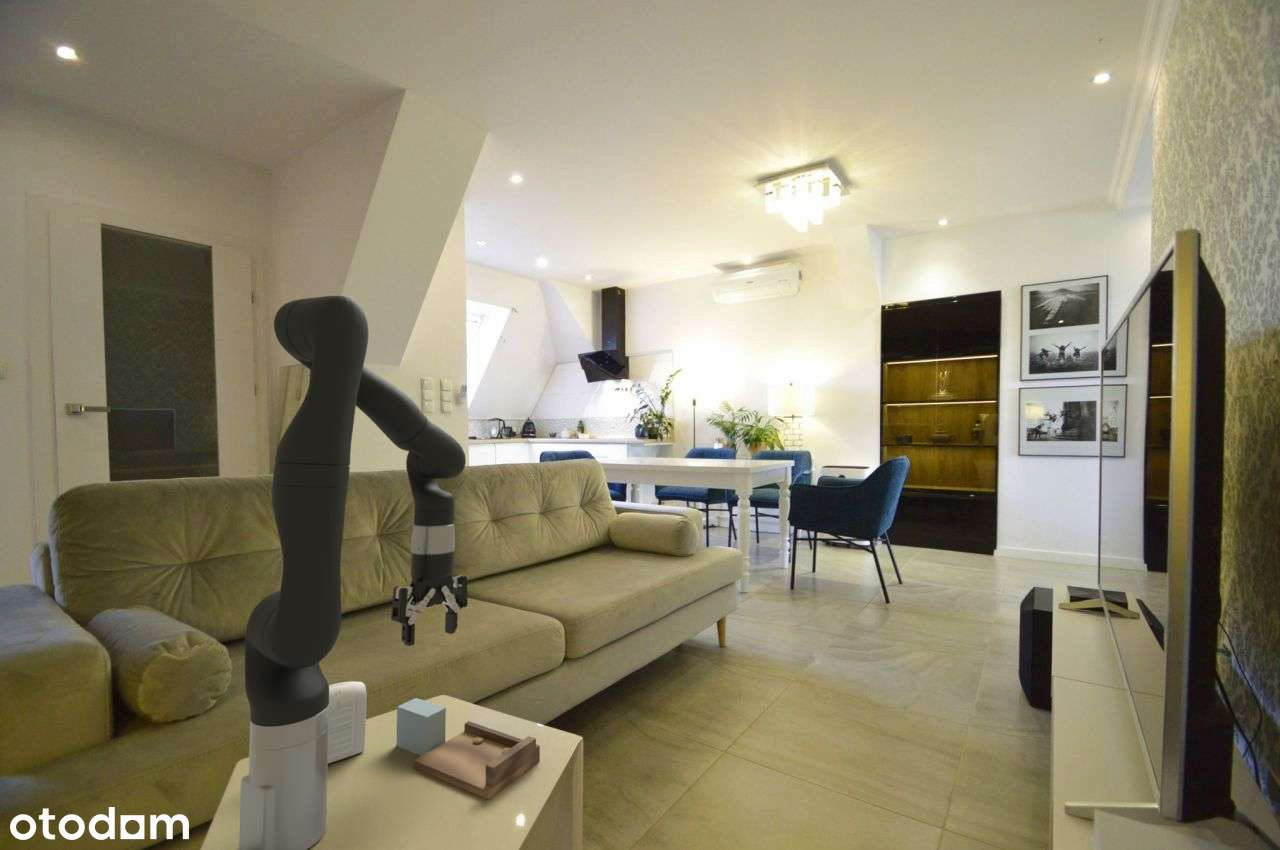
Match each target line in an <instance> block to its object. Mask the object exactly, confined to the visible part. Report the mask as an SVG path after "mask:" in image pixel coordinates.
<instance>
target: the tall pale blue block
mask: <svg viewBox="0 0 1280 850" xmlns="http://www.w3.org/2000/svg"><path fill="white" fill-rule="evenodd" d="M446 710H447V708H446V707H445V706H441V705H438V704H435V703H432V702H430V701H427V700H423V699H421V698H417V697H415V698H413V699H411V700H408V701H406V702H404V703H402V704H400V705H398V706H396V746H395V747H399V748H400V749H403V750H406V751H408V752H411V753H413V754H415V755H418V756H419V757H420V756H422V755H424V754H426V753H427V752H429V751H431V750H432V749H434V748H436V747H438V746H439V745H441V744H443V743H445V742H446V726H447V725H446V723H447V721H446V719H447V718H446V717H447V715H446V714H447V713H446V712H447V711H446Z"/></svg>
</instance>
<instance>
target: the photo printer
mask: <svg viewBox="0 0 1280 850" xmlns="http://www.w3.org/2000/svg"><path fill="white" fill-rule="evenodd" d="M367 697H368V696H367V689H366V684H365V683H364V682H363V681H343V682H338V683H334V684H331V685H330V684H329V724H328V764H332V763H334V762H337V761H340V760H343V759H347V758H350V757H352V756H354V755H357V754H360V753H363V752H364V751H365V747H366V724H367V723H366V722H367V720H366V719H367ZM328 764H327V765H328Z"/></svg>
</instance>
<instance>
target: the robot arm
mask: <svg viewBox="0 0 1280 850" xmlns="http://www.w3.org/2000/svg"><path fill="white" fill-rule="evenodd" d="M273 328H274V329H273V330H274V335H275V337H276V339H277V340H278V343H279V344H280V346H281V347H282V348H283V350H285V352H286V353H288V354H289V355H290V356H291V357H292V358H293V359H295V360H296V361H298V362H299V363H301V364H302V365H303V366H304V367H306V368H307V369H308V370H310V378H309V384H308V387H307V391H306V394H305V397H304V399H303V401H302V403H301V404H300V406H299V408H298V410H297V412H296V413H295V414H294V417H293V418H292V420H291V421H290V422H289V424H288V426H287V428H286V430H285V432H284V433H283V435H282V437H281V439H280V441H279V443H278V446H277V448H276V452H275V458H274V459H275V460H274V462H275V463H274V468H273V478H272V486H271V503H272V504H271V505H272V510H273V511H272V512H273V515H274V520H275V526H276V530H277V534H278V538H279V544H280V546H281V555H282V574H281V575H282V576H281V581H280V582H281V583H280V589H279V590H278V591H275V592H272V593H271V594H269V595H267V596H266V597H264V598H263V599H261V601H259V603H258V604H256V605H255V607H254V609H253V610H252V611H251V613H250V615H249V618H248V620H247V623H246V627H245V628H246V629H245V635H244V636H245V637H244V684H245V685H244V686H245V694H246V698H247V701H248V704H249V710H250V712H249V713H250V721H249V747H248V750H249V751H248V752H249V753H248V754H249V755H248V774H247V775H245V776H243V777H242V779H241V780H240V807H239V808H240V809H239V814H240V815H239V835H238V837H239V838H238V840H239V841H238V843H239V844H238V848H239V849H238V850H308V849H309V848H310V849H311V848H312V847H313V846H314V845H315V844H316V843H317V842H318V841H319V840H321V839H322V838H323V835H324V834H325V831H326V829H327V813H328V811H327V805H328V804H327V799H328V798H327V797H328V794H327V793H328V792H327V791H328V724H329V686H330V684H329V682H328V680H327V678H326V677H325V676H324V674H323V671H322V670H321V666H320V662H321V661H322V660H324V658H325V657H327V656H328V654H329V653H330V652H331V651H332V650H333V647H334V646H335V644H336V642H337V640H338V637H339V634H340V630H341V625H342V591H341V590H342V588H341V587H342V585H341V584H342V583H341V582H342V581H341V578H342V577H341V576H342V575H341V563H342V562H341V561H342V559H341V558H342V554H341V553H342V548H343V546H342V544H343V537H344V527H345V525H344V524H345V515H346V504H347V503H346V502H347V497H348V490H349V480H350V479H349V478H350V469H351V453H352V452H351V451H352V449H351V448H352V439H353V430H354V423H355V415H356V408H358V409H359V410H360V411H361V412H362V413H363V414H364V415H366V416H367V418H369V420H370V421H372V422H373V423H374V424H375V425H376V427H377V428H378V429H380V431H381V432H382V433H383V434H384V435H385V436H386V437H387V438H388V440H390V441H391V442H392V443H393V444H394V446H396V447H397V448H398V449H400V450H402V451H406V452H408V453H407V455H406V461H405V462H406V463H405V466H406V467H405V468H406V473H407V477H408V481H409V485H410V491H411V494H412V498H413V502H414V503H413V504H414V506H413V507H414V508H413V509H414V510H413V511H414V512H413V528H412V529H413V530H412V535H411V546H410V547H411V552H410V553H411V554H410V578H411V581H410V584H409V586H400V585H395V586H394V588H393V593H392V605H391V607H392V608H391V616H390V619H391V621H392V622H396V623H399V624H401V642H402V643H403V644H404V645H405V646H408V647H412V646H414V645H415V637H416V635H415V634H416V633H415V632H416V623H415V622H416V620H417V618H418V617H419V616H420V614H422V613H423V611H424V610H425V608H430V607H433V606H434V605H437V606H438V605H439V606H440V605H443V607H444V608H445V610H446V612H445V617H444V618H445V623H444V624H445V625H444V631H445V633H446V634H449V635H453V634H455V633H456V630H457V628H458V620H459V619H458V617H459V616H458V614H459V612H460V610H461V609H463V608H467V606H468V600H469V599H468V577H467V576H466V575H463V574H455V575H454V576H453V574H454V572H455V551H456V550H455V549H456V534H455V532H456V531H455V505H456V504H455V497H454V495H453V494H452V493H451V492H448V491H444V490H443V489H441V488H440V485H439V483H438V479H441V480H448V479H449V480H450V479H454V478H457V477H458V476H460V475H461V474H462V473H463V471H464V470H465V468H466V464H467V463H466V462H467V461H466V453H465V451H464V449H463V447H462V445H461V443H460V442H458V441H457V440H456V438H454V437H453V436H451V435H450V434H449V433H448V432H446V430H445V431H444V430H443V429H442V428H441V427H439V426H438V425H436V424H434V423H433V422H431V421H430V420H429V419H428V417H427V416H426V415H425V414H424V412H423V411H422V410H421V409H420V407H418V406H417V404H416V403H415V402H414V401H413V400H412V399H411V397H409V395H407V394H406V393H405V392H403V390H401V389H400V388H399V387H397V386H396V385H394V384H393V383H391V382H390V381H388V380H386V379H384V378H383V377H382V376H380V375H379V374H377V373H375V372H373V370H372V369H370V368H368V367H367V366H365V364H364V363H365V360H366V354H367V350H368V343H369V325H368V319H367V317H366V314H365V312H364V310H363V308H362V307H361V306H360V305H359V303H357V301H355V300H354V299H353V298H351V297H349V296H345V295H327V296H326V295H325V296H316V297H310V298H309V297H308V298H307V297H306V298H300V299H295V300H292V301H289V302H288V301H287V302H286V303H284V304H283V305H281V306H280V307H279V309H278V310H277V312H276V313H275V316H274V320H273ZM452 588H453V591H454V592H453V593H454V594H453V593H452V592H451V590H452ZM410 594H411V598H410ZM409 598H410V599H409ZM408 599H409V601H408Z"/></svg>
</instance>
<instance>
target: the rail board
mask: <svg viewBox="0 0 1280 850" xmlns="http://www.w3.org/2000/svg"><path fill="white" fill-rule="evenodd" d="M540 746H541V745H539V744H537V738H536V737H532V736H530V735H528V736H527V737H525V738H524V739H522V738H519V737H516V736H514V735H510V734H507V733H505V732H501V731H499V730H495V729H493V728H491V727H487V726H484V725H481V724H478V723H475V722H472V721H469V720H468V721H467V722H465V723H464V731H462V732H460V733H458V734H457V735H455V736H453V737H452V738H450V739H449V740H445V743H443V744H441V745H439V746H438V747H436V748H434V749H432V750H431V751H429V752H427V753H426V754H424V755H422V756H420V755H419V757H417V758H415V759H413V768H415V769H417V770H418V771H421V772H424V773H425V774H428V775H431V776H433V777H436V778H437V779H440V780H442V781H444V782H447V783H449V784H452V785H454V786H456V787H459V788H461V789H464V790H466V791H468V792H470V793H473V794H475V795H477V796H479V797H482V798H484V799H485V800H489V799H491V798H492V797H494V796H495V795H496V794H498V793H499V792H500V791H502V790H503V789H504V788H505V787H507V786H508V785H510V784H511V783H512V782H514V781H515V780H517V779H518V778H519V777H520V776H522V775H523V774H524V773H526V772H527V771H529V770H530V769H531V768H532V767H534V766H535V765H536V764H538V763H539V762H540V760H541V758H540V756H541V751H540V748H541V747H540Z"/></svg>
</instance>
